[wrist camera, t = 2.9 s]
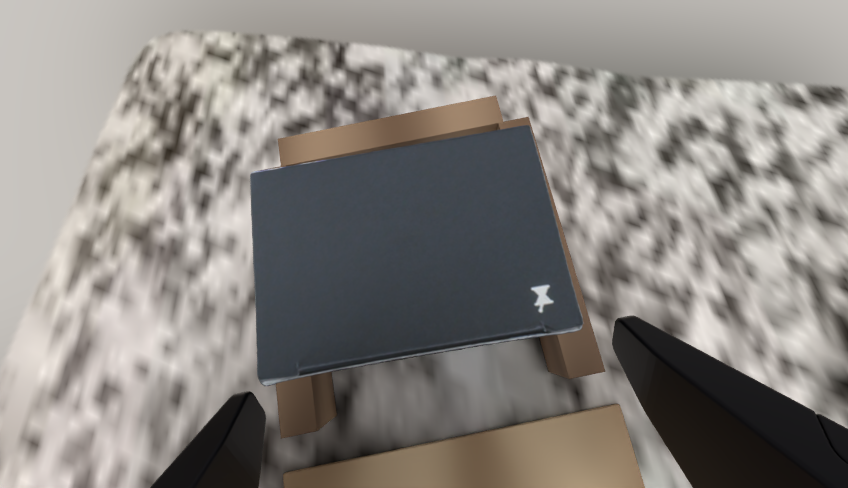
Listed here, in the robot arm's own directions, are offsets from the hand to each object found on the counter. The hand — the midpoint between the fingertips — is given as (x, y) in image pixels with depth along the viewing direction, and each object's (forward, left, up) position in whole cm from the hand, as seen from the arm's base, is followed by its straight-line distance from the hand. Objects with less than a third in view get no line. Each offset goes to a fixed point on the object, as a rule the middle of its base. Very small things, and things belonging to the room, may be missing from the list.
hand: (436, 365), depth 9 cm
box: (0, +3, -10) cm, 10 cm away
